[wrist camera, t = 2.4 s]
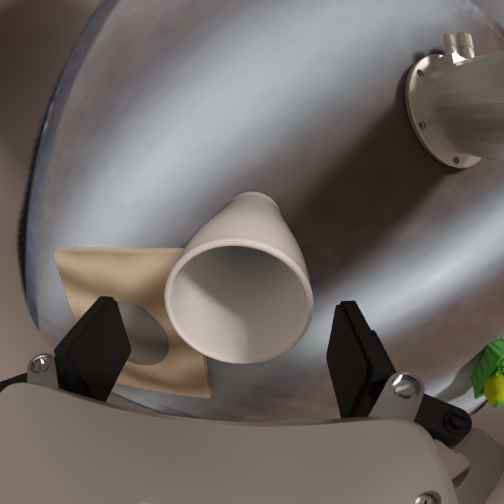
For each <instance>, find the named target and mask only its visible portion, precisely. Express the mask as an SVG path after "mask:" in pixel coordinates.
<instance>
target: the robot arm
mask: <svg viewBox="0 0 504 504" xmlns="http://www.w3.org/2000/svg"><path fill="white" fill-rule="evenodd" d="M456 36H457V40H458V45H459V49H460V52H461V56H460V55H459V54H457V46H456V41H455V37H454V36H453V35H451V34H444V35H443V38H444V43H445V46H446V51H447V52H446V53H445V54H444V55H441V54H432V55H429V56H425V57H423V58H421V59H419V60H418V61H417V62H416V63H415V64H414V65H413V66H412V68H411V69H410V71H409V73H408V76H407V79H406V85H405V103H406V108H407V113H408V116H409V119H410V122H411V125H412V128H413V130H414V132H415V134H416V136H417V138H418V139H419V141H420V142H421V144H422V145H423V147H424V148H425V149H426V150H427V151H428V152H429V154H430V155H432V156H433V157H434V158H435V159H436V160H438V161H439V162H441V163H443V164H445V165H448V166H451V167H456V168H468V167H470V166H473V165H475V164H476V163H477V162H478V161H480V160H481V158H486V159H491V160H496V161H500V162H504V50H503V51H499V52H494V53H490V54H485V55H481V56H477V57H475V54H474V45H473V40H472V37H471V35H469V34H467V33H464V32H459V33H457V34H456ZM419 125H420V127H419ZM54 352H55V354H56V356H55V357H53V356H52V355H51V354H48V353H43V354H39V355H37V356H35V357H33V358H32V359H31V360H30V362H29V364H28V367H27V373H24V374H21V375H18V376H15V377H13V378H10V379H7V380H4V381H2V382H0V504H485V502H486V501H487V499H488V498H489V496H490V495H491V493H492V491H493V490H494V488H495V486H496V485H497V483H498V482H499V480H500V478H501V476H502V474H503V473H504V446H502V445H501V444H500V443H498V442H497V441H496V440H494V439H493V438H492V437H490V436H489V435H487V434H486V433H485V432H484V431H482V430H481V429H480V428H478V427H476V428H475V429H474V428H473V427H472V421H471V418H470V416H469V414H468V413H467V412H466V411H464V410H463V409H461V408H458V407H456V406H453V405H451V404H448V403H446V402H443V401H441V400H438V399H436V398H434V397H431V396H429V395H426V394H424V390H425V387H424V383H423V382H422V380H421V379H420V378H419V377H418V376H416V375H414V374H412V373H409V372H398V373H397V372H396V370H395V368H394V366H393V364H392V362H391V360H390V358H389V357H388V355H387V353H386V351H385V349H384V347H383V345H382V343H381V341H380V339H379V337H378V336H377V334H376V332H375V331H374V330H371V329H370V327H369V326H368V324H367V322H366V320H365V318H364V316H363V314H362V313H361V311H360V309H359V307H358V305H357V303H356V302H355V301H341V303H340V305H336V308H335V313H334V319H333V324H332V330H331V335H330V340H329V345H328V349H327V355H326V359H327V364H328V368H329V371H330V375H331V379H332V383H333V387H334V391H335V395H336V399H337V403H338V407H339V411H340V415H341V418H340V419H328V420H315V421H297V422H233V421H217V420H205V419H195V418H186V417H178V416H171V415H165V414H159V413H153V412H147V411H142V410H137V409H132V408H128V407H123V406H118V405H115V404H110V403H107V402H106V400H107V398H108V396H109V394H110V392H111V390H112V388H113V386H114V384H115V382H116V380H117V379H118V377H119V375H120V373H121V371H122V369H123V367H124V365H125V363H126V361H127V359H128V358H129V356H130V354H131V345H130V342H129V339H128V336H127V333H126V330H125V327H124V323H123V320H122V317H121V313H120V310H119V306H118V303H117V301H116V300H114V298H113V297H110V296H100V297H99V298H98V299H97V300H96V301H95V302H94V303H93V305H92V306H91V307H90V308H89V309H88V310H87V311H86V312H85V314H84V315H83V316H82V317H81V318H80V319H79V321H78V322H77V323H76V324H75V325H74V326H73V328H72V329H71V330H70V331H69V332H68V333H67V335H66V336H65V337H64V338H63V340H62V341H61V342H60V343H59V344H58V346H57V347H56V348H55V349H54Z"/></svg>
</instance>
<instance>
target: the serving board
mask: <svg viewBox="0 0 504 504" xmlns="http://www.w3.org/2000/svg"><path fill="white" fill-rule="evenodd" d="M183 250H184V248H59V249H58V250H56V251H55V252H54V255H55V259H56V263H57V266H58V270H59V273H60V277H61V280H62V283H63V286H64V290H65V293H66V296H67V299H68V302H69V304H70V307H71V310H72V313H73V315H74V318H75V321H76V323H77V322H78V321H79V319H80V318H81V317H82V316H83V315H84V314H85V312H86V311H87V310H88V309H89V308H90V307H91V306H92V305H93V303H94V302H95V301H96V300H97V299H98V298H99V297H100V296H110V297H113V298H114V300H116V301H117V303H118V306H119V310H120V313H121V317H122V320H123V323H124V327H125V330H126V333H127V336H128V339H129V342H130V345H131V354H130V356H129V358H128V359H127V361H126V363H125V365H124V367H123V369H122V371H121V373H120V375H119V377H118V379H117V380H116V382H115V383H117V384H121V385H125V386H130V387H135V388H140V389H145V390H150V391H156V392H162V393H168V394H175V395H183V396H191V397H200V398H210V399H211V394H212V387H211V382H210V376H209V370H208V364H207V358H206V356H205V355H203V354H201V353H200V352H198V351H196V350H195V349H193V348H192V347H191V346H189V345H188V344H187V343H186V342H185V341H184V340H183V339H182V338H181V337H180V336H179V335H178V334H177V332H176V331H175V330H174V328H173V326H172V325H171V323H170V321H169V318H168V316H167V313H166V309H165V303H164V291H165V285H166V281H167V278H168V276H169V274H170V272H171V270H172V268H173V267H174V265H175V263H176V261H177V259H178V258H179V256H180V254H181V253H182V251H183Z"/></svg>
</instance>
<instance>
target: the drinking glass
mask: <svg viewBox="0 0 504 504" xmlns="http://www.w3.org/2000/svg"><path fill="white" fill-rule="evenodd" d="M164 303H165V309H166V313H167V316H168V318H169V321H170V323H171V325H172V326H173V328H174V330H175V331H176V332H177V334H178V335H179V336H180V337H181V338H182V339H183V340H184V341H185V342H186V343H187V344H188V345H189V346H191V347H192V348H193V349H195V350H196V351H198V352H200V353H201V354H203V355H205V356H207V357H210V358H212V359H215V360H219V361H222V362H227V363H234V364H252V363H259V362H264V361H267V360H270V359H273V358H275V357H278V356H280V355H282V354H283V353H285V352H287V351H288V350H289V349H291V348H292V347H293V346H294V345H295V344H297V342H298V341H299V340H300V339H301V338H302V337H303V335H304V334H305V332H306V331H307V329H308V327H309V324H310V322H311V319H312V314H313V306H314V305H313V294H312V290H311V284H310V278H309V274H308V270H307V267H306V263H305V260H304V257H303V254H302V252H301V249H300V247H299V245H298V243H297V241H296V239H295V237H294V235H293V234H292V232H291V230H290V229H289V227H288V225H287V224H286V222H285V220H284V219H283V217H282V215H281V213H280V210H279V208H278V206H277V204H276V203H275V202H274V201H273V200H272V199H271V198H270V197H268V196H267V195H265V194H262V193H259V192H245V193H242V194H239V195H237V196H236V197H234V198H233V199H232V200H231V201H230V202H229V203H228V204H227V206H226V207H224V208H223V209H222V210H221V211H220V212H218V213H217V214H216V215H215V216H214V217H212V218H211V219H210V220H209V221H208V222H206V223H205V224H204V225H203V226H202V227H201V228H200V229H199V230H198V231H197V233H196V234H195V235H194V236H193V237H192V238H191V240H190V241H189V242H188V244H187V245H186V247H185V248H184V250H183V251H182V253H181V254H180V256H179V258H178V259H177V261H176V263H175V265H174V267H173V268H172V270H171V272H170V274H169V276H168V278H167V281H166V285H165V291H164Z"/></svg>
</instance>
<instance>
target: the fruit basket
mask: <svg viewBox="0 0 504 504" xmlns="http://www.w3.org/2000/svg"><path fill="white" fill-rule="evenodd" d="M471 380H472V384H473V389H474V397H475V399H477V398H479V397H481V396H484V395H485V397H486V399H487V400H488V401H489V402H490V404H491V405H493V407H495V408H497V407H499V406H501V405H502V404H503V403H504V339H503V338H502V339H500V340H498V341H496V342H493V343H492V344H489V345H487V347H486V349H485V352H484V354H483V355H482V357H481V359H480V362H479V364H478V365H477V367H476V369H475V371H474V373H473V374H472V376H471Z"/></svg>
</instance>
